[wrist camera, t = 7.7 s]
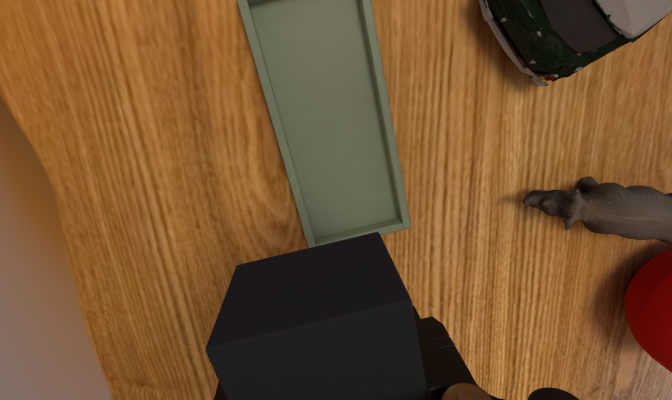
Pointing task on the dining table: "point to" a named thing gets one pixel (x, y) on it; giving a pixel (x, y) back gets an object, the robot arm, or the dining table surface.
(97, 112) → the dining table surface
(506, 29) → the miniature car
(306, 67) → the backing tray
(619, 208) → the rhino figurine
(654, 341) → the tomato
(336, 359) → the pad
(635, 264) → the dining table surface
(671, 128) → the dining table surface
